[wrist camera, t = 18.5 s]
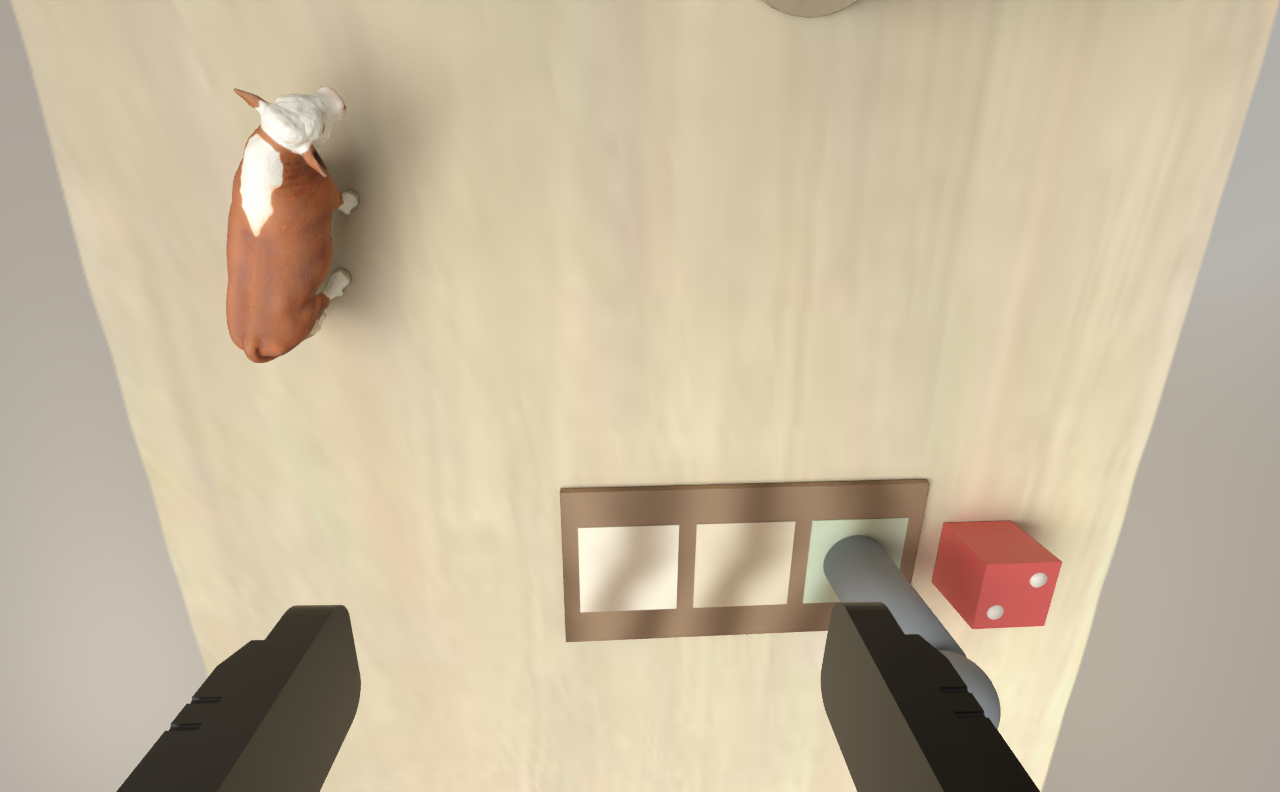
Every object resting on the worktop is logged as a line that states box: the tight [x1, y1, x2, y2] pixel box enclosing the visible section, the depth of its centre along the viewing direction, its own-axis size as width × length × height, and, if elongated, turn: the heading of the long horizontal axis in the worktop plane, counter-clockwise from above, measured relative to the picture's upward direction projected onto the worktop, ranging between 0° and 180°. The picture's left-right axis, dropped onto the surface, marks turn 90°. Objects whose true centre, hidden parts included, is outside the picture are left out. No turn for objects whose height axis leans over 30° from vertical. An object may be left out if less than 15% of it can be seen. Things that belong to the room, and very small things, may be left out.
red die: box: [932, 521, 1062, 629], centre depth 41 cm, size 5×5×5 cm
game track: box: [560, 479, 930, 642], centre depth 42 cm, size 25×12×1 cm, turn 90°
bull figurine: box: [226, 86, 359, 363], centre depth 29 cm, size 4×13×8 cm, turn 158°
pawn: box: [823, 536, 1000, 729], centre depth 35 cm, size 5×5×14 cm
